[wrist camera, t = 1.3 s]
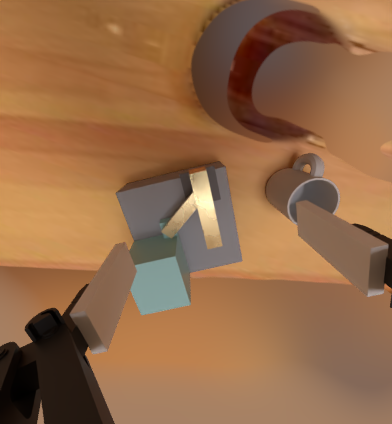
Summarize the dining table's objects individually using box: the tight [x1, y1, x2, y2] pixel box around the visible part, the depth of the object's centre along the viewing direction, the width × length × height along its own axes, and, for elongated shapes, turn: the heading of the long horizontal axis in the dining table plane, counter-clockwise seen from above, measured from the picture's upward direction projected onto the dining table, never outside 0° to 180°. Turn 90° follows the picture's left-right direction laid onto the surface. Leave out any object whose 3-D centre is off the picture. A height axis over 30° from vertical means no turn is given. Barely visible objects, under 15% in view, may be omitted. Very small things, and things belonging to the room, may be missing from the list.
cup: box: [266, 153, 340, 225], centre depth 32 cm, size 7×10×9 cm
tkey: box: [161, 167, 223, 249], centre depth 25 cm, size 10×8×10 cm
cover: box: [129, 217, 191, 315], centre depth 30 cm, size 10×7×7 cm, turn 13°
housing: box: [116, 161, 242, 273], centre depth 35 cm, size 16×16×6 cm
